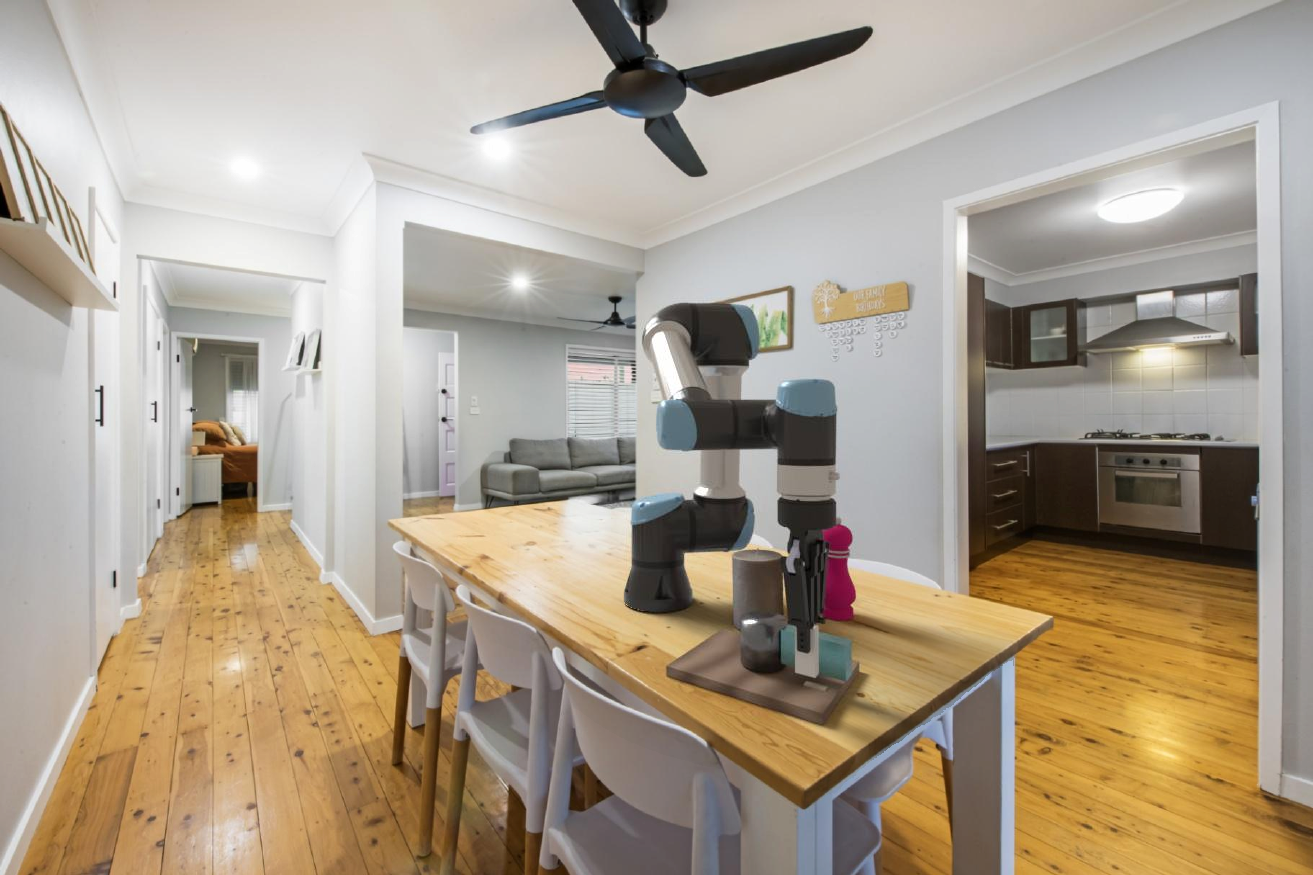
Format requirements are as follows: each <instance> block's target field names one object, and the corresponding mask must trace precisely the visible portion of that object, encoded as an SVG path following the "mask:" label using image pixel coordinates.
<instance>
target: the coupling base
mask: <svg viewBox="0 0 1313 875" xmlns="http://www.w3.org/2000/svg"><path fill="white" fill-rule="evenodd" d="M665 668H666V673H665V676H666V677H669V678H673V679H676V680H679V681H682V682H685V683H687V684H692V685H695V686H698V687H701V688H704V689H708V690H711V691H714V692H716V693H720V694H723V695H726V696H730V697H733V698H736V699H738V700H741V701H745V702H749V703H752V704H754V705H757V706H761V707H764V708H767V709H771V710H774V711H777V712H780V713H782V714H787V715H789V716H792V717H795V718H799V719H802V720H805V721H809V722H812V723H815V724H817V725H820V726H824V725H825V723H826V722H827V720H828V718H829V717H830V716H831V714H832V712H834V710H835V708H836V707H837V705H838V703H840V701H841V699H842V698H843V697H844V695H845V693H846V692H847V690H848V689H849V687H850V686H851V685H852V683H853V681H854V680H855V678H856V677H857V675H858V674H859V673H860V661H857V660H853V659H852V675H851V676H850V677H849V679H848V680H847V681H846V682H845V681H842V680H838V679H835V678H831V677H828V676H824V675H821V674H818V675H817V676H816V678H814V677H810V676H806V675H803V674H799V673H795V667H793V666H789V665H786V667H785V668H784V669H783V670H780V671H777V672H758V671H754V670H751V669H748V668H746V667H745V666H743V665H742V664H741V661H740V632H735V631H731V630H727V629H720V630H718V631H716V632H715V633H714V634H711V635H710V636H709V637H708V638H706V639H705V640H702V641H701V642H700V643H699V644H697V645H696V646H694V647H692V648H691V649H690V650H688V651H687V652H685V653H683V654H682V655H680V656H679V657H678V658H676V659H675V660H673V661H671V662H670V663H668V664H666V666H665Z"/></svg>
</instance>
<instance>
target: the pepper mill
mask: <svg viewBox="0 0 1313 875" xmlns="http://www.w3.org/2000/svg"><path fill="white" fill-rule="evenodd" d="M853 537H854V536H853V532H852V531H851V529H850V528H849V527H847V526H846V525H843V524H842V519H841V517H840V516H836V525H835V527H833V528H831V529H827V530H823V540H825V541H826V542H829V543H830V548H829V554H828V561H827V575H826V590H825V605H824V609H825V610H824V613H823V614H821V617H823V618H826V619H829V620H832V621H839V620H840V622H841V621H842V622H843V621H844V620H845V621H849V620H852V619H853V618H854V613H855V612H854V611H855V610H854V607H853V606H852V604H853V603H855V601H856V599H857V593H856V587H855V585H854V582H853V580H852V578H851V575H850V572H849V566H848V562H849V561H848V559H849V558H850V557H851V549H849V547H850V546H851V545H852V543H853V540H854V539H853Z"/></svg>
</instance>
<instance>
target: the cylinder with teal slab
mask: <svg viewBox="0 0 1313 875" xmlns="http://www.w3.org/2000/svg"><path fill="white" fill-rule="evenodd" d="M739 633H740V661H741V664H742V665H743V666H745V667H746V668H748V669H751V670H754V671H758V672H777V671H780V670H783V669H784V668H785V667H786V665H789V666H793V667H795V626H793V625H789V624H788V619H787V618H786V616H782V615H780V614H777V613H774V612H768V611H751V612H746V613H744V614H742V615H741V616H740V630H739ZM852 644H853V642H852V639H850V638H847V637H842V636H838V635H834V634H830V633H826V632H820V631H819V674H821V675H824V676H828V677H831V678H835V679H838V680H842V681H845V682H846V681H847V680H848V679H849V677H850V676H851V675H852V660H853V659H852V658H853V656H852V655H853V654H852V652H853V650H852V649H853V648H852Z"/></svg>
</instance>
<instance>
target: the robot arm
mask: <svg viewBox="0 0 1313 875" xmlns="http://www.w3.org/2000/svg"><path fill="white" fill-rule="evenodd" d="M758 323H759V322H758V319H757V316H756V314H755V312H754V311H753V309H752V308H751V307H750V306H748V305H744V304H737V303H732V302H731V303H730V302H729V303H728V302H727V303H717V302H716V303H715V302H713V303H712V302H711V303H710V302H709V303H707V302H705V303H704V302H678V303H677V302H676V303H672V304H670V305H667V306H666V307H662V309H659V311H657V312H656V313H655V314H653V315H652V316H651V318H650V319H649V320H648V322H647V323H646V325H645V326H644V328H643V332H642V334H641V335H642V336H641V344H642V349H643V352H644V355H645V356H646V358H647V359H648V360H649V361H650V362H651V364H652V366H653V369H654V373H655V376H656V379H657V382H658V386H659V390H660V393H661V398H662V400H661V401H660V402H659V403H658V404H657V408H656V415H655V416H656V417H655V418H656V419H655V426H656V427H655V428H656V439H657V443H658V445H659V447H661V448H662V449H664V450H668V451H682V452H690V451H700V466H699V469H700V472H699V473H700V474H699V475H700V477H699V478H700V479H699V480H700V481H699V484H698V485H697V486H696V487H695V488H694V489H693V490H692V491H693V492H692V498H691V499H686V498H685V497H684V494H683V493H680V492H679V493H678V492H673V493H672V492H671V493H669V492H668V493H658V494H653V495H649V496H645V497H641V498H638V499H637V500H635V501H634V502H633V503H632V505H631V513H630V514H631V515H630V521H629V523H630V525H631V566H630V570H629V574H628V577H627V581H626V583H625V588H624V590H623V603H624V602H625V604H627V605H628V606H629V607H632V608H635V609H639V610H643V611H642V612H644V611H649V612H648V613H670V612H676V610H677V611H680V609H681V610H684V609H686V608H688V607H690V606H691V605H692V604H693V596H694V595H693V593H694V592H693V589H692V587H691V583H690V579H689V577H688V572H687V570H686V567H685V554H691V553H692V554H695V553H696V554H697V553H715V552H716V553H718V552H719V553H721V552H723V553H728V552H729V553H730V552H737V551H742V550H745V548H746V547H748V545H749V544H750V542H751V540H752V539H753V535H754V529H755V520H756V519H755V518H756V517H755V516H756V515H755V508H754V507H755V506H754V504H753V502H752V500H751V499H750V498H747V494H746V493H747V492H746V491H745V489H743V487H742V486H741V484H740V461H741V460H740V459H741V455H740V454H741V450H742V451H743V450H744V451H745V450H749V451H750V450H777V451H776V452H777V460H776V463H777V464H776V466H777V467H776V492H777V493H778V494H779V495H781V496H780V497H779V498H778V499H777V506H776V507H777V510H776V511H777V524H778V525H779V526H781V527H783V528H787V529H788V530H789V538H788V541H787V545H786V546H787V548H786V549H787V554H788V556H786V555H782V557H781V559H780V564H781V568H782V571H783V587H784V593H785V594H784V595H785V603H786V605H785V606H786V614H787V625H792V626H795V673H799V674H803V675H806V676H810V677H814V678H816V676H817V675H818V674H819V632H820V628H819V627H820V625H819V624H821V625H825V624H826V621H827V618H826V617H823V616H821V615H822V614H823V613H824V610H825V609H824V605H825V590H826V575H827V561H828V554H829V548H830V543H829V542H826V541H825V540H823V530H827V529H831V528H833V527H835V525H836V517H837V501H836V500H835V498H833V497H832V496H834V495H835V494H837V490H836V489H837V485H836V484H837V482H836V481H839V480H840V478H841V474H840V473H839V472H837V471H836V469H837V468H836V467H837V466H836V464H837V413H838V405H837V402H836V401H837V399H836V387H835V385H834V383H833V382H832V381H830V380H829V379H824V378H823V379H820V378H819V379H818V378H800V379H799V378H798V379H789V380H788V379H787V380H784V381H781V382H780V383H779V384H778V386H777V391H776V393H777V394H776V398H775V399H742V377H743V374H744V373H746V372H747V370H748V369H749V368H750V361H752V360H754V359H756V358H757V356H758V354H759V348H760V342H761V341H760V338H761V337H760V328H759V324H758ZM625 604H624V605H625ZM628 606H627V607H628ZM629 607H628V608H629ZM632 608H631V609H632ZM635 609H634V610H635ZM639 610H638V611H639Z"/></svg>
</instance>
